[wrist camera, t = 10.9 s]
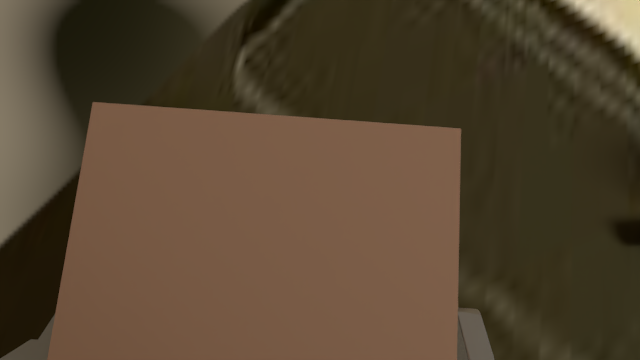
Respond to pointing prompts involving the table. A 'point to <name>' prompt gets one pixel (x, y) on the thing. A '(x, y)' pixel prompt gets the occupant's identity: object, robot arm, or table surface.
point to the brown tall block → (260, 239)
